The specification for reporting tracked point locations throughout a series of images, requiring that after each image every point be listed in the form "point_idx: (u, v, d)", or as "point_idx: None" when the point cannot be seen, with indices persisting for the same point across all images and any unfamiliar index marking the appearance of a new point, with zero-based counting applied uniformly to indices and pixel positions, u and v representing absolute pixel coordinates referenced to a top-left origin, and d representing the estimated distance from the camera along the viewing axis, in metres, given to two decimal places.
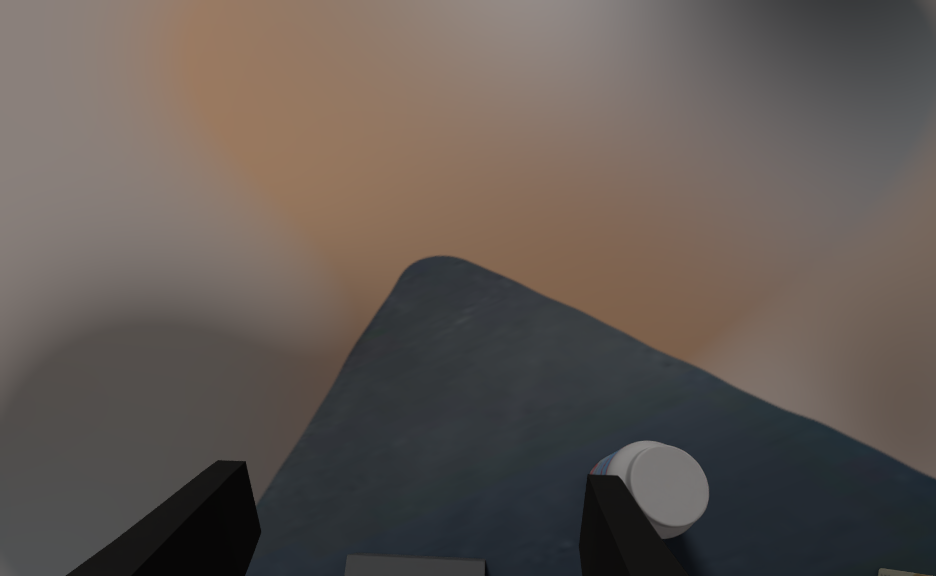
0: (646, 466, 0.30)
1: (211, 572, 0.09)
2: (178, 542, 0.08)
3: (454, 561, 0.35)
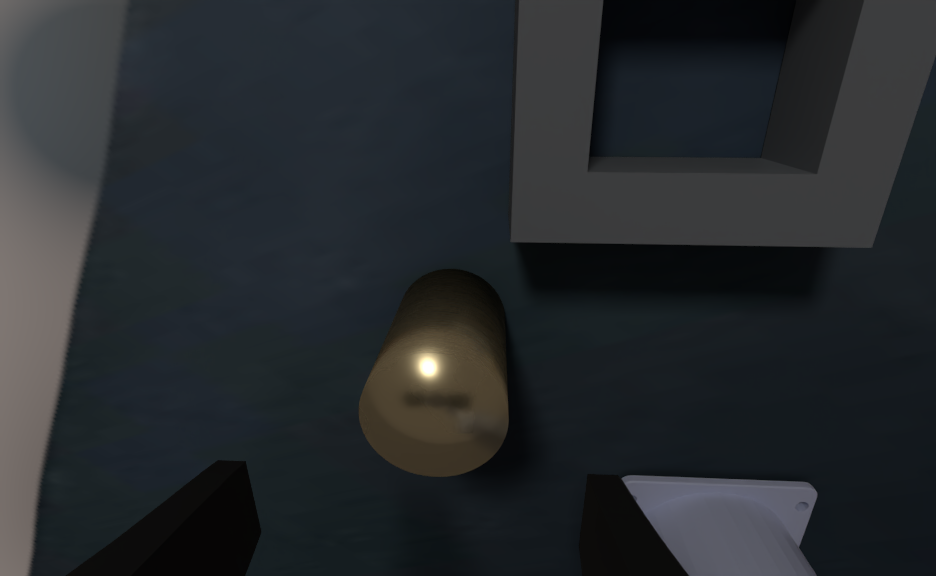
0: None
1: (211, 572, 0.09)
2: (178, 542, 0.08)
3: None
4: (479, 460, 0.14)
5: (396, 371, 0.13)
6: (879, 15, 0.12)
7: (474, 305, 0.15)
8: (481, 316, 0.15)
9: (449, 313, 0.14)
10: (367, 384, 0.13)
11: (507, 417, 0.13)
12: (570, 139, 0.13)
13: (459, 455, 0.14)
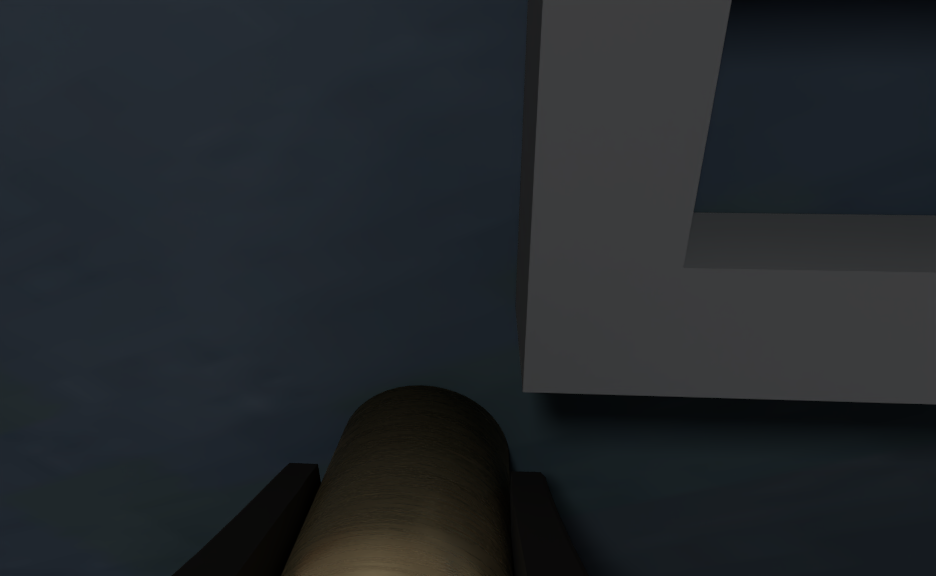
0: None
1: None
2: (268, 546, 0.08)
3: None
4: None
5: None
6: None
7: (455, 483, 0.09)
8: (467, 510, 0.08)
9: (405, 521, 0.08)
10: None
11: None
12: (652, 203, 0.06)
13: None
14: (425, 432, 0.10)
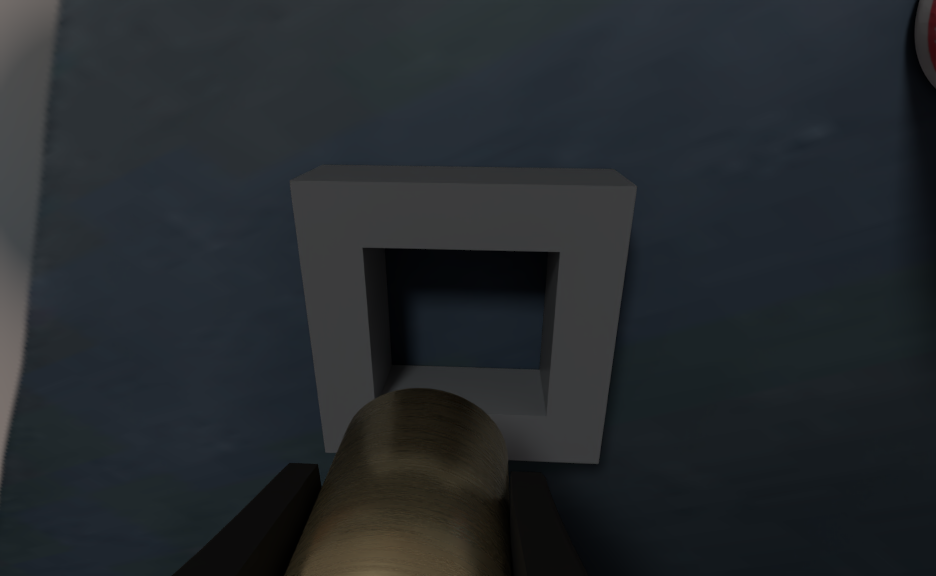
0: None
1: None
2: (267, 546, 0.08)
3: (559, 188, 0.14)
4: None
5: None
6: (568, 321, 0.16)
7: (463, 488, 0.09)
8: (474, 517, 0.08)
9: (417, 523, 0.08)
10: None
11: None
12: (358, 388, 0.17)
13: None
14: (434, 436, 0.10)
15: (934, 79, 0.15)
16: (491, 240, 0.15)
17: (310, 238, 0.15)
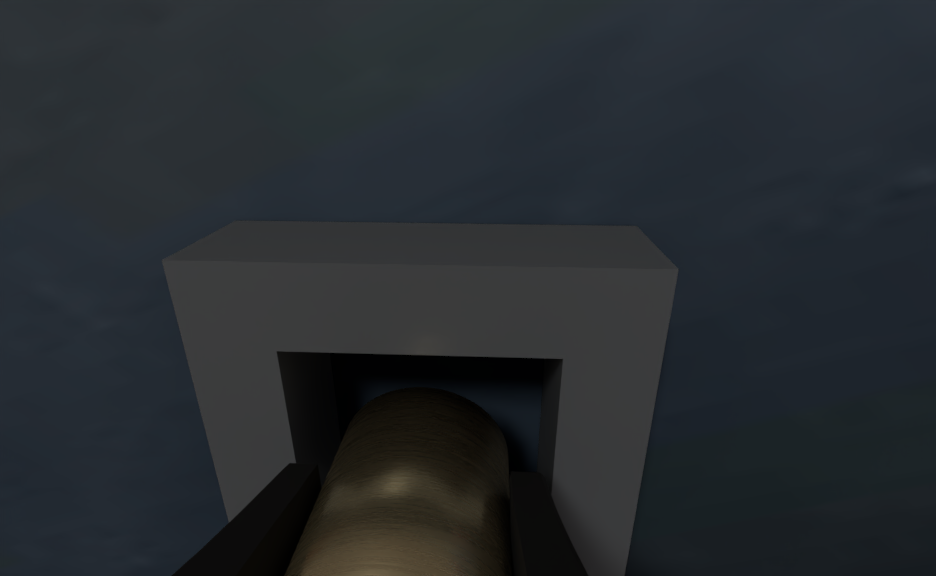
0: None
1: None
2: (267, 546, 0.08)
3: (561, 272, 0.09)
4: None
5: None
6: (575, 449, 0.11)
7: (464, 487, 0.09)
8: (476, 516, 0.08)
9: (417, 523, 0.08)
10: None
11: None
12: None
13: None
14: (435, 435, 0.10)
15: None
16: (462, 342, 0.10)
17: (201, 338, 0.10)
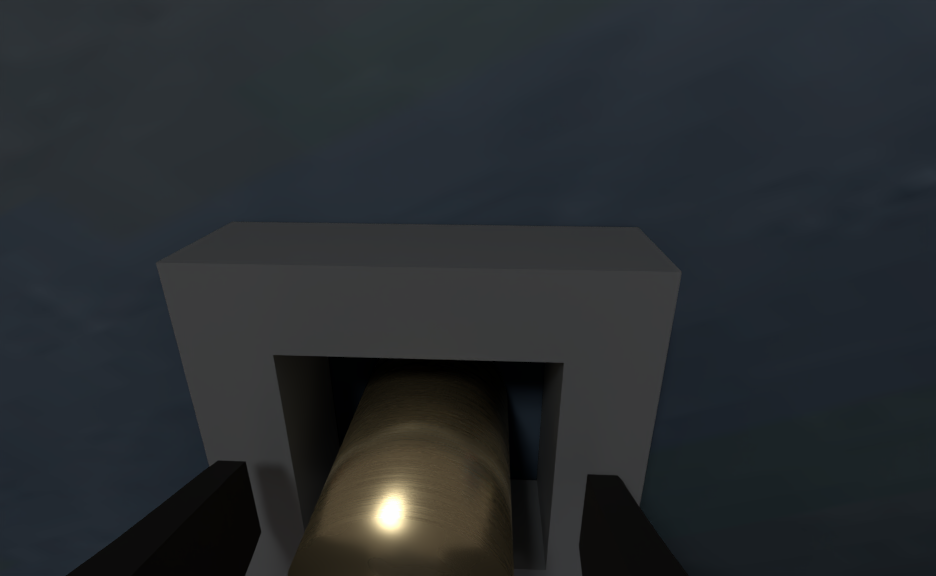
0: None
1: (212, 572, 0.09)
2: (179, 542, 0.08)
3: (562, 274, 0.09)
4: None
5: (347, 538, 0.08)
6: (576, 454, 0.11)
7: (471, 406, 0.11)
8: (481, 426, 0.11)
9: (436, 424, 0.10)
10: (301, 550, 0.08)
11: None
12: (284, 534, 0.12)
13: None
14: (447, 369, 0.12)
15: None
16: (461, 346, 0.10)
17: (196, 342, 0.10)
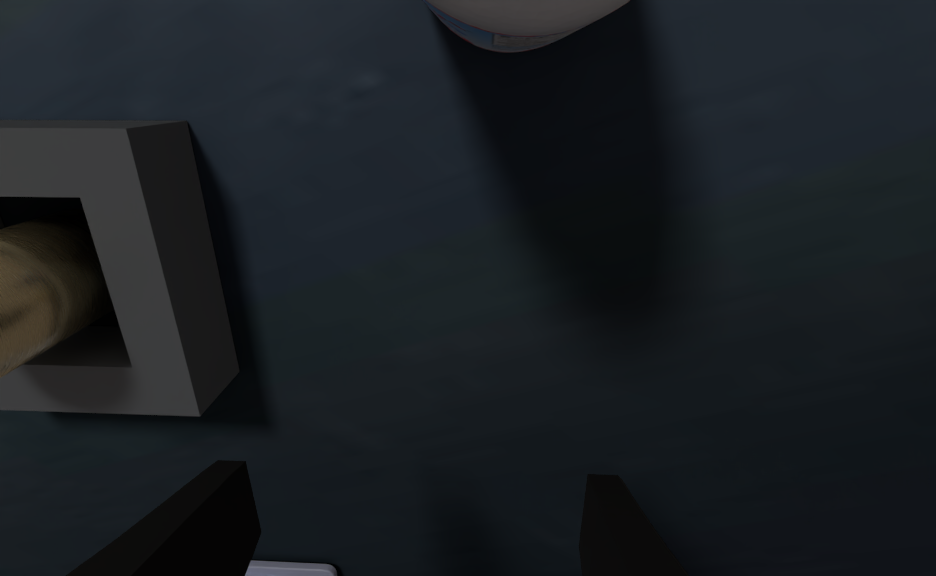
0: None
1: (211, 572, 0.09)
2: (178, 542, 0.08)
3: (53, 131, 0.14)
4: None
5: None
6: (115, 269, 0.16)
7: (48, 238, 0.16)
8: (45, 248, 0.16)
9: None
10: None
11: None
12: None
13: None
14: (54, 221, 0.17)
15: None
16: (10, 186, 0.15)
17: None
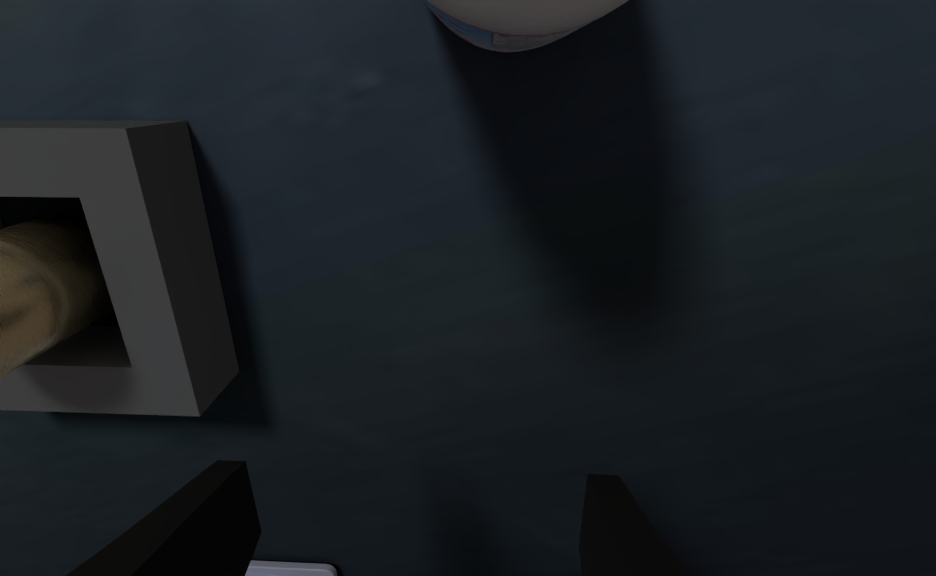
0: None
1: (211, 572, 0.09)
2: (178, 542, 0.08)
3: (53, 131, 0.14)
4: None
5: None
6: (115, 269, 0.16)
7: (48, 238, 0.16)
8: (45, 248, 0.16)
9: None
10: None
11: None
12: None
13: None
14: (53, 221, 0.17)
15: None
16: (10, 186, 0.15)
17: None
